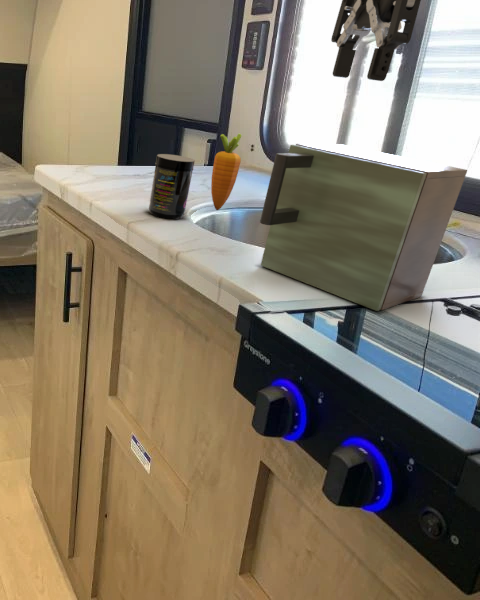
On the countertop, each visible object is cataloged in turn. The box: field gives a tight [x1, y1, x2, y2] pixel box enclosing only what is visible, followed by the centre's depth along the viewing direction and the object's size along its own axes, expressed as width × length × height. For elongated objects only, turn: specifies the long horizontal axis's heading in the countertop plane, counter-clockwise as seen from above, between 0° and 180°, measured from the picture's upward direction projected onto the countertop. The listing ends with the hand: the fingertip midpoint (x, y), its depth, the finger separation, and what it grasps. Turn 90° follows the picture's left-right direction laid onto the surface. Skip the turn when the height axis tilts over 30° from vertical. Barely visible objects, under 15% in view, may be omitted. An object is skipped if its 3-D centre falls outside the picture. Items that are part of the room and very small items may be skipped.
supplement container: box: [148, 153, 196, 220], centre depth 108 cm, size 7×7×10 cm
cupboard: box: [295, 143, 468, 311], centre depth 82 cm, size 12×18×18 cm
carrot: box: [210, 133, 243, 211], centre depth 116 cm, size 5×5×15 cm
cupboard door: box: [259, 144, 427, 312], centre depth 76 cm, size 8×18×17 cm, turn 39°
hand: (356, 78), depth 81 cm, fingers open, 8 cm apart
